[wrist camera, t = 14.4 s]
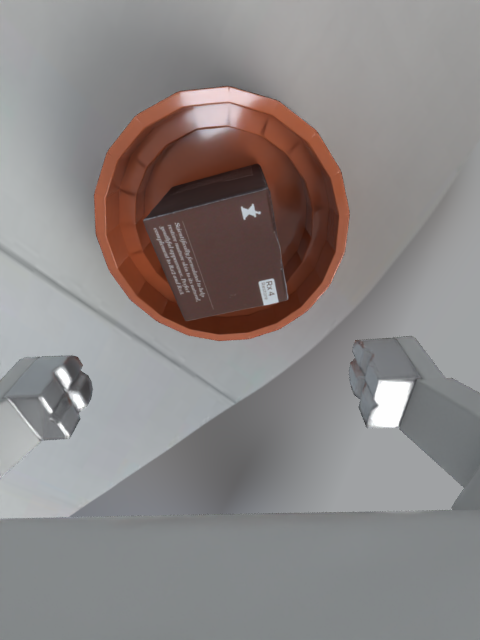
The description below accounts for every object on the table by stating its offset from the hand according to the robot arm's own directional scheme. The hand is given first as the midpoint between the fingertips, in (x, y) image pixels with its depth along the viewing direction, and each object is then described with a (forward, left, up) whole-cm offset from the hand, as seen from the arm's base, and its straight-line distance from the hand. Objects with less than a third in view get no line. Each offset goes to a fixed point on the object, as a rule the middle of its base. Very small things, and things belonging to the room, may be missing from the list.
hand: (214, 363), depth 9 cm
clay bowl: (0, 0, -15) cm, 15 cm away
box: (0, 0, -15) cm, 15 cm away
